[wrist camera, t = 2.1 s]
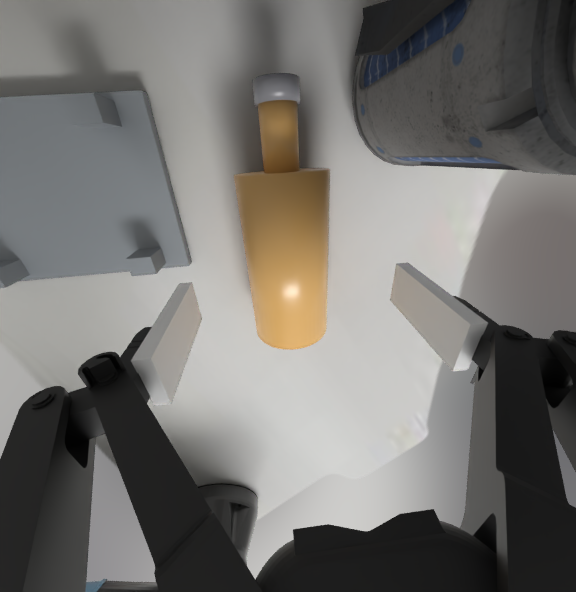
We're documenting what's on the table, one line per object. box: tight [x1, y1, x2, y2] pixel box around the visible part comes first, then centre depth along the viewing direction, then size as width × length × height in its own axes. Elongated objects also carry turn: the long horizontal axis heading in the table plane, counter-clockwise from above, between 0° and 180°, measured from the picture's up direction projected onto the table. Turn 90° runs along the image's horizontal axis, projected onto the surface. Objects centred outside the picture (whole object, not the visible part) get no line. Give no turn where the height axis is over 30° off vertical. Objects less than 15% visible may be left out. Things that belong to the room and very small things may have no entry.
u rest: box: [0, 90, 192, 288], centre depth 19 cm, size 18×13×4 cm
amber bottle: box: [234, 73, 330, 349], centre depth 20 cm, size 19×7×7 cm, turn 3°
